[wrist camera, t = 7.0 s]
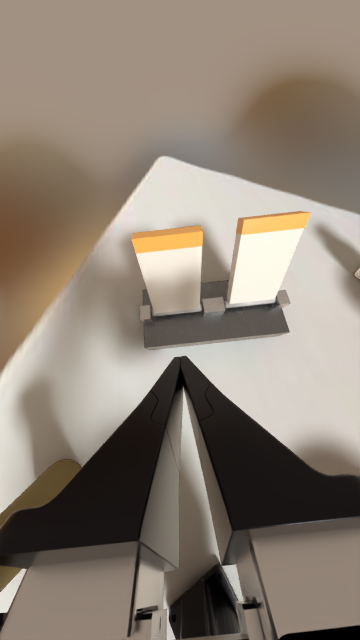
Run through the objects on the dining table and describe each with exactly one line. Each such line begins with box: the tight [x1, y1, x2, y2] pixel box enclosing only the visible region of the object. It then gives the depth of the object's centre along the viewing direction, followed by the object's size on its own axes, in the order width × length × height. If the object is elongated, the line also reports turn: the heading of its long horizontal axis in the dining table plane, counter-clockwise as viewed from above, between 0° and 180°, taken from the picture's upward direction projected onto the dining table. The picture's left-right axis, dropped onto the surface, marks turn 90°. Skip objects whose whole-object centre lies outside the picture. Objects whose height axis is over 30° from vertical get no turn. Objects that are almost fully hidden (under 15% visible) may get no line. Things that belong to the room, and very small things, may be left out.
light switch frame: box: [140, 280, 290, 350], centre depth 22 cm, size 9×20×5 cm, turn 96°
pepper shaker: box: [0, 459, 81, 592], centre depth 13 cm, size 6×6×11 cm
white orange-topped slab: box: [224, 211, 311, 308], centre depth 17 cm, size 1×7×10 cm
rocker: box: [131, 226, 203, 316], centre depth 16 cm, size 1×7×10 cm, turn 97°
